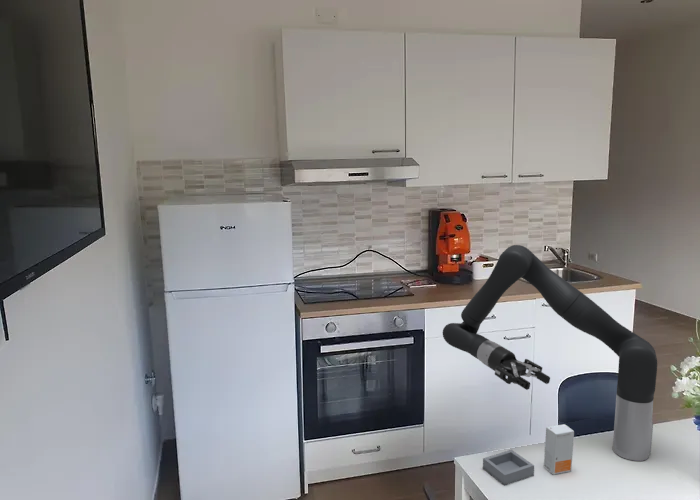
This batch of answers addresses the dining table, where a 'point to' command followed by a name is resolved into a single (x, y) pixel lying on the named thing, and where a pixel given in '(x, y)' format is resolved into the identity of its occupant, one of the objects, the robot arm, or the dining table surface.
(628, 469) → the dining table surface
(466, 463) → the dining table surface
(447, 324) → the robot arm
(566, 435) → the skincare box
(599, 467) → the dining table surface
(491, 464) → the gray tray
